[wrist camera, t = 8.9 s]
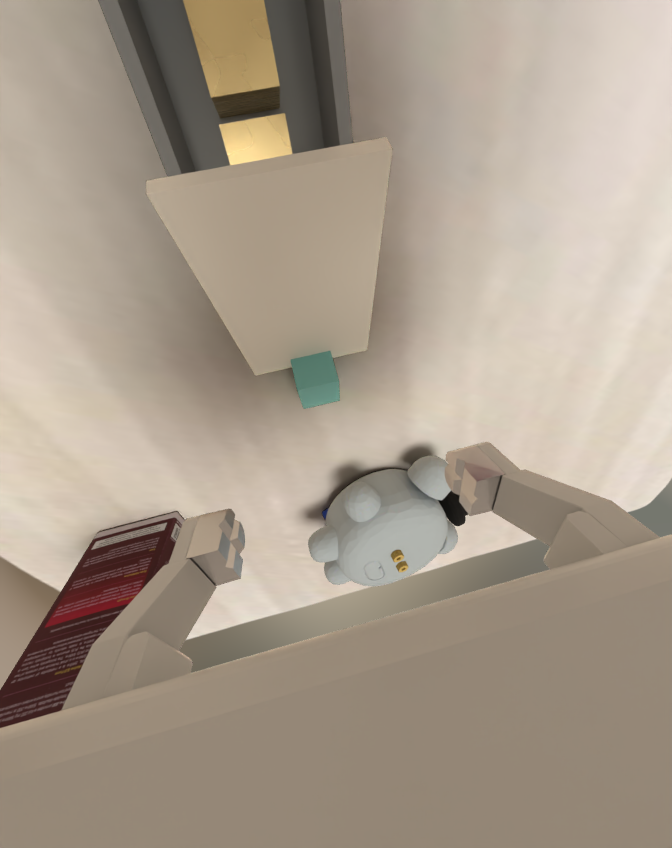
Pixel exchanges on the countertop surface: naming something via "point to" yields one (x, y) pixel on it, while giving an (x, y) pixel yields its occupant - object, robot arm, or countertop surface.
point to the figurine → (388, 525)
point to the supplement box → (85, 614)
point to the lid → (286, 253)
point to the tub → (188, 91)
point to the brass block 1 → (235, 54)
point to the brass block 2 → (256, 139)
